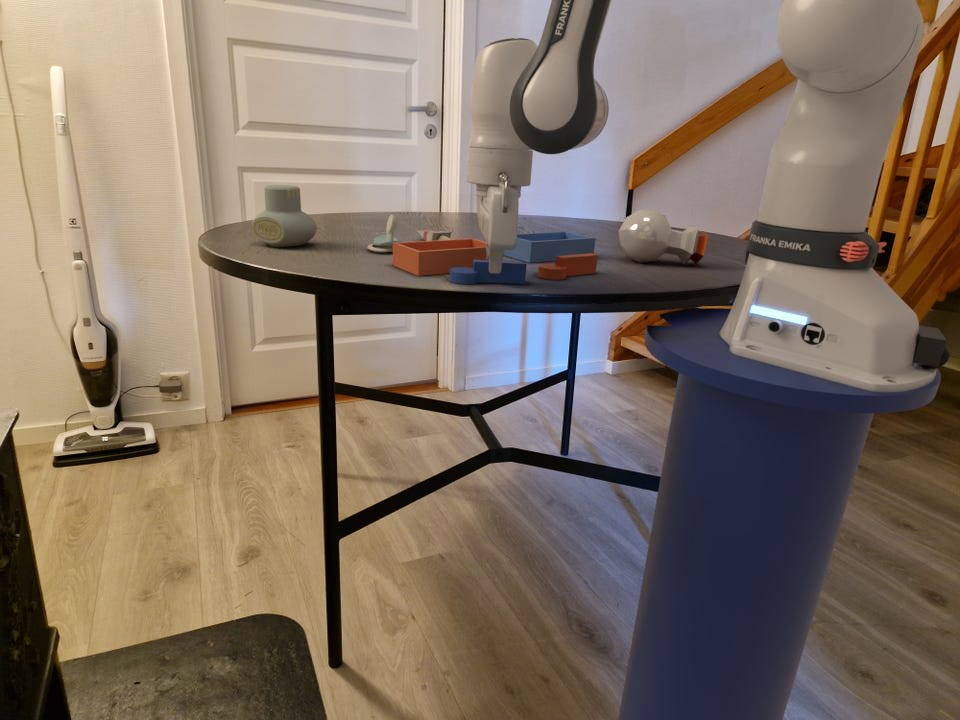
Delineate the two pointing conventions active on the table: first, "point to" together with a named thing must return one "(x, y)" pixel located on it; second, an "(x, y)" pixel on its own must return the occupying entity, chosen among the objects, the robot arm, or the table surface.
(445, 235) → the wrapped snack bar
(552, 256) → the blue tray
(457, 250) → the terracotta tray
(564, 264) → the orange stepped block
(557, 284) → the table surface
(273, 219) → the air freshener
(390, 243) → the pacifier
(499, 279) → the blue block with disc
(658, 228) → the potion bottle
